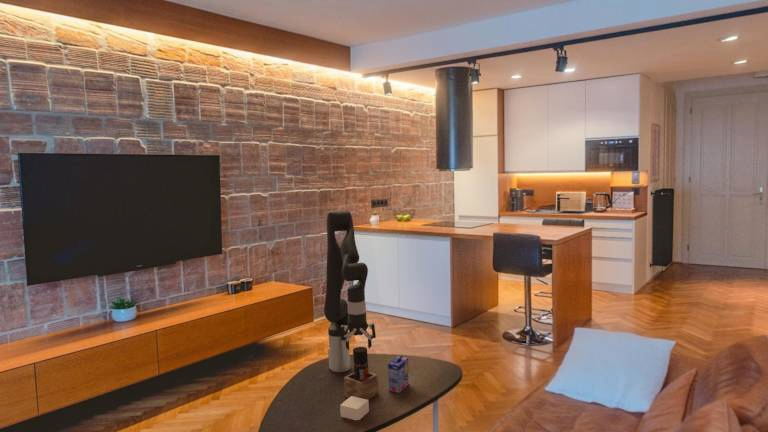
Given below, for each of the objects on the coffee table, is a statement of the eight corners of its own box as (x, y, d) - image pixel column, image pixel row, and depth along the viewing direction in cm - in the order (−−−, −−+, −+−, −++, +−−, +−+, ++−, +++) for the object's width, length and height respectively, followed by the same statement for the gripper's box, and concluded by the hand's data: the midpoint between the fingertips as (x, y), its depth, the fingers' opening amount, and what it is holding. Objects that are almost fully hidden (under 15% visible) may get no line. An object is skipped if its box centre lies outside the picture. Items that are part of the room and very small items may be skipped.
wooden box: (344, 396, 223) (343, 377, 221) (361, 387, 230) (360, 368, 229) (362, 403, 216) (361, 383, 215) (378, 393, 224) (377, 374, 222)
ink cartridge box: (399, 393, 222) (398, 360, 220) (388, 391, 225) (386, 358, 223) (409, 383, 231) (408, 352, 229) (398, 381, 234) (396, 350, 232)
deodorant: (358, 388, 219) (356, 353, 217) (352, 382, 224) (350, 348, 222) (371, 384, 221) (369, 350, 219) (365, 379, 226) (363, 345, 225)
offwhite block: (340, 417, 206) (340, 404, 205) (352, 407, 213) (351, 395, 212) (358, 421, 202) (357, 409, 201) (369, 411, 209) (368, 399, 208)
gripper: (339, 315, 214) (341, 353, 216) (374, 312, 215) (376, 350, 217) (339, 309, 221) (341, 346, 223) (373, 306, 222) (375, 343, 225)
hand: (358, 348), depth 220 cm, fingers open, 8 cm apart
